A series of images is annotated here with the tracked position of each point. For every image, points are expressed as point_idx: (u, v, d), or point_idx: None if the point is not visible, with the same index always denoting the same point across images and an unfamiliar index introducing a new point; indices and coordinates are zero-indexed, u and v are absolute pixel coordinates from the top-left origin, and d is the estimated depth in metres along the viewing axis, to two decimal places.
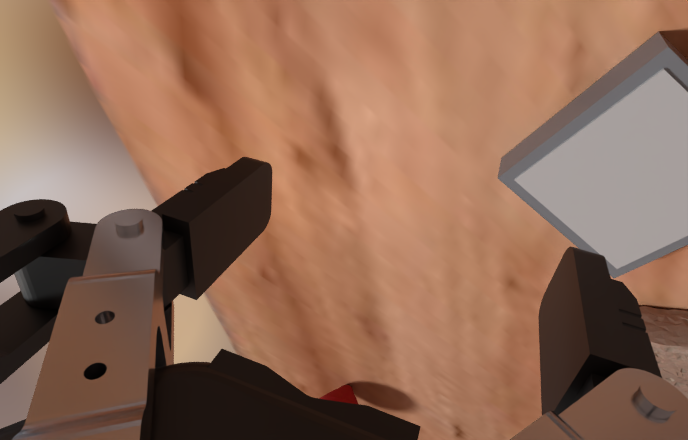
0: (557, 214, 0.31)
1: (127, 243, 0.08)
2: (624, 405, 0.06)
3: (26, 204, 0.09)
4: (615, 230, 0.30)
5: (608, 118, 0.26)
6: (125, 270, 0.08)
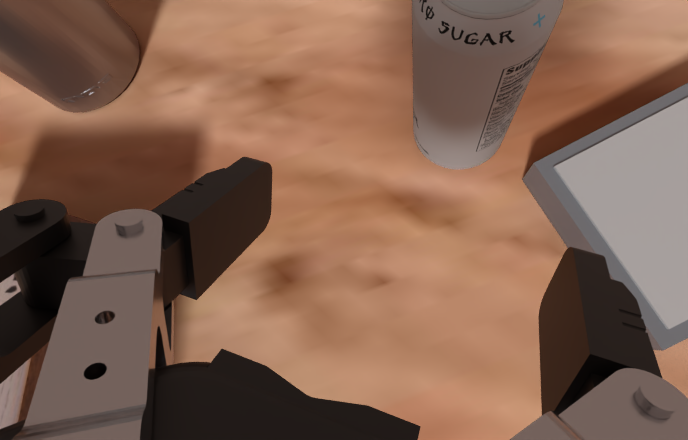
0: None
1: (128, 244, 0.08)
2: (624, 405, 0.06)
3: (26, 204, 0.09)
4: None
5: (596, 214, 0.25)
6: (125, 270, 0.08)
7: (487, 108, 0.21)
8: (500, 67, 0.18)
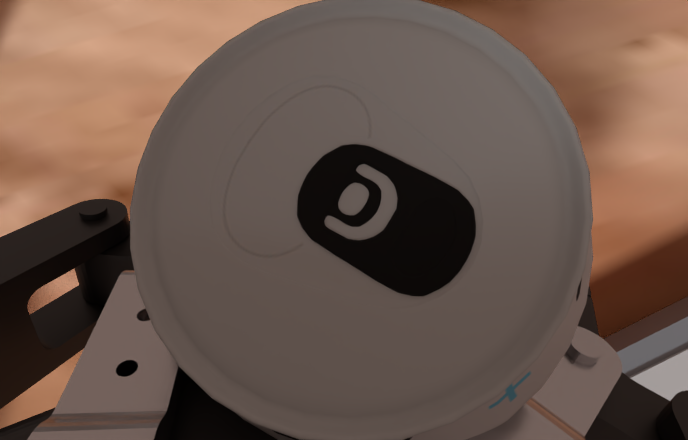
0: None
1: None
2: None
3: (91, 204, 0.09)
4: None
5: None
6: None
7: None
8: None
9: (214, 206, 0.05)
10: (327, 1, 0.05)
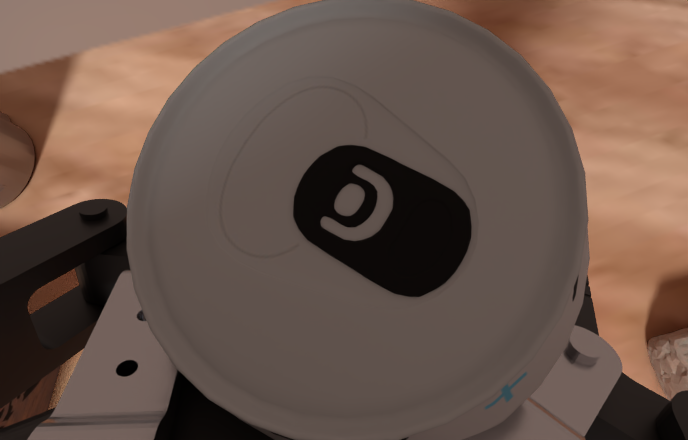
0: None
1: None
2: None
3: (92, 203, 0.09)
4: None
5: None
6: None
7: None
8: None
9: (211, 207, 0.05)
10: (323, 2, 0.05)
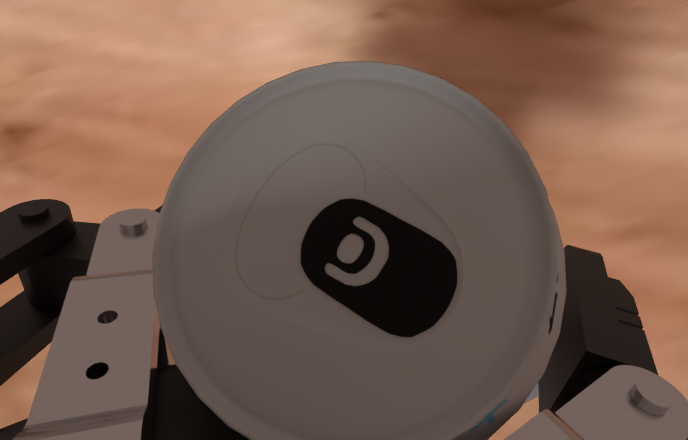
0: None
1: (131, 244, 0.08)
2: (620, 401, 0.06)
3: (31, 204, 0.09)
4: None
5: None
6: (129, 270, 0.08)
7: None
8: None
9: (228, 253, 0.05)
10: (326, 65, 0.06)
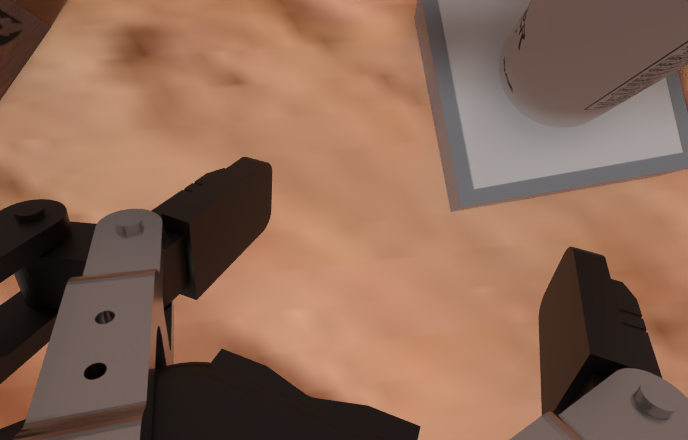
0: (554, 171, 0.22)
1: (127, 244, 0.08)
2: (624, 405, 0.06)
3: (26, 205, 0.09)
4: (614, 123, 0.22)
5: (457, 60, 0.23)
6: (125, 270, 0.08)
7: (663, 53, 0.13)
8: None
9: None
10: None
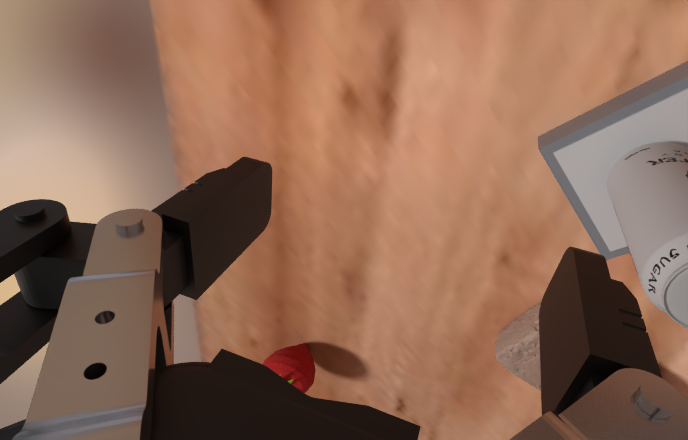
0: (578, 192, 0.36)
1: (127, 244, 0.08)
2: (624, 405, 0.06)
3: (26, 205, 0.09)
4: None
5: (650, 112, 0.32)
6: (125, 270, 0.08)
7: (626, 241, 0.28)
8: (638, 273, 0.25)
9: None
10: None
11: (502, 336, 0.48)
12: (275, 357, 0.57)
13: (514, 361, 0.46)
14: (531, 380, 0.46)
